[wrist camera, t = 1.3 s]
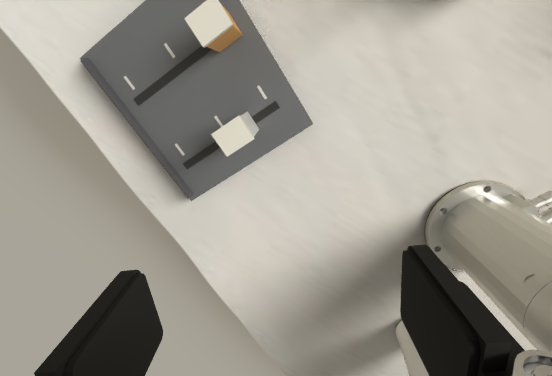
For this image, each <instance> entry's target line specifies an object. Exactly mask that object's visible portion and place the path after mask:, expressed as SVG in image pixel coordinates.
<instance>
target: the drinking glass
mask: <svg viewBox="0 0 552 376" xmlns="http://www.w3.org/2000/svg"><path fill="white" fill-rule="evenodd" d="M396 337H397V339H398V342H399V344H400V347H401V350H402V353H403V356H404V360H405V363H406V366H407V370H408V373H409V376H429V374H428V372H427V370H426V368H425V366H424V364H423V362H422V360H421V358H420V356H419V354H418V352H417V350H416V348H415V346H414V344H413V342H412V340H411V338H410V336H409V334H408V332H407V330H406V328H405V326H404V323H403V321H401V322H400V323H399V324H398V325H397V327H396Z"/></svg>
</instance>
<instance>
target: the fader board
mask: <svg viewBox="0 0 552 376" xmlns="http://www.w3.org/2000/svg"><path fill="white" fill-rule="evenodd" d="M205 1H206V0H146V1H145V2H143V3H142V4H141V5H140V6H139V7H138V8H137V9H135V10H134V11H133V12H132V13H131V14H130V15H129V16H127V17H126V18H125V19H124V20H123V21H122V22H121V23H119V24H118V25H117V26H116V27H115V28H114V29H113V30H111V31H110V32H109V33H108V34H107V35H106V36H105V37H103V38H102V39H101V40H100V41H99V42H98V43H97V44H95V45H94V46H93V47H92V48H91V49H90V50H89V51H87V52H86V53H85V54H84V55H83V56H82V57H81V58H80V59H81V62H82V64H83V65H84V66H85V68H86V69H87V70H88V71H89V73H90V74H91V75H92V76H93V78H94V79H95V80H96V82H97V83H98V84H99V85H100V87H101V88H102V89H103V90H104V92H105V93H106V94H107V96H108V97H109V98H110V99H111V101H112V102H113V103H114V104H115V106H116V107H117V108H118V110H119V111H120V112H121V113H122V115H123V116H124V117H125V118H126V120H127V121H128V122H129V124H130V125H131V126H132V127H133V129H134V130H135V131H136V133H137V134H138V135H139V136H140V138H141V139H142V140H143V141H144V143H145V144H146V145H147V147H148V148H149V149H150V150H151V152H152V153H153V154H154V155H155V157H156V158H157V159H158V161H159V162H160V163H161V164H162V166H163V167H164V168H165V169H166V171H167V172H168V173H169V175H170V176H171V177H172V178H173V180H174V181H175V182H176V183H177V185H178V186H179V187H180V189H181V190H182V191H183V192H184V194H185V195H186V196H187V197H188V198H190V200H191V201H192V200H194V199H195V198H197V197H198V196H200V195H202V194H203V193H205V192H206V191H208V190H209V189H211V188H213V187H214V186H216V185H217V184H219V183H220V182H222V181H224V180H225V179H227V178H228V177H230V176H232V175H233V174H235V173H236V172H238V171H239V170H241V169H243V168H244V167H246V166H247V165H249V164H251V163H252V162H254V161H255V160H257V159H258V158H260V157H262V156H263V155H265V154H266V153H268V152H270V151H271V150H273V149H274V148H276V147H277V146H279V145H281V144H282V143H284V142H285V141H287V140H288V139H290V138H292V137H293V136H295V135H296V134H298V133H300V132H301V131H303V130H304V129H306V128H307V127H309V126H311V125H312V124H313V123H312V121H311V119H310V117H309V116H308V114H307V112H306V111H305V109H304V107H303V106H302V104H301V102H300V101H299V99H298V97H297V96H296V94H295V92H294V91H293V89H292V87H291V86H290V84H289V82H288V81H287V79H286V77H285V76H284V74H283V72H282V71H281V69H280V67H279V66H278V64H277V62H276V61H275V59H274V57H273V56H272V54H271V52H270V51H269V49H268V47H267V46H266V44H265V42H264V41H263V39H262V37H261V35H260V34H259V32H258V30H257V29H256V27H255V25H254V24H253V22H252V20H251V19H250V17H249V15H248V14H247V12H246V10H245V9H244V7H243V5H242V4H241V2H240V0H219V2H220V3H221V4H222V6H223V7H224V8H225V9H226V10H227V11H228V12H229V13H230V15H231V17H232V18H233V20H234V22H235V23H236V25H237V26H238V28H239V30H240V31H241V33H242V36H241V37H240V38H238V39H237V40H236V41H235V42H233V43H232V44H231V45H229V46H228V47H227V48H225V49H224V50H223V51H221V52H218V51H215V50H213V49H211V48H208V47H205V48H204V47H203V46H202V45H201V43H200V42H199V40H198V39H197V37H196V36H195V34H194V33H193V31H192V30H191V28H190V27H189V25H188V24H187V22H186V21H185V19H184V18H185V17H187V16H188V15H189V14H190V13H192V12H193V11H194V10H195V9H196V8H198V7H199V6H200V5H201V4H203V3H204V2H205ZM247 111H248V113H249V114H250V116H251V117H252V119H253V120H254V122H255V123H256V125H257V126H258V128H259V131H258V132H257V133H256V135H255V136H254V140H252V141H251V142H249V143H247V144H246V145H244V146H243V147H241V148H240V149H238V150H237V151H235V152H234V153H232V154H231V155H229V156H228V157H227V156H226V155H225V153H224V152H223V151H222V149H221V148H220V146H219V145H218V144H217V142H216V141H215V139H214V138H213V136H212V135H211V134H212V133H214V132H215V131H217V130H218V129H220V128H221V127H222V126H224V125H225V124H227V123H228V122H230V121H231V120H233V119H234V118H236V117H237V116H241V115H242V114H244V113H246V112H247Z"/></svg>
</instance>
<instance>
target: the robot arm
mask: <svg viewBox="0 0 552 376" xmlns="http://www.w3.org/2000/svg"><path fill="white" fill-rule="evenodd" d="M550 204H552V191H548V192H546V193H544V194H542V195H540V196H538V197H537V198H535V199H532V200H529V199H525V198H524V196H523V195H522V194H520V193H519V192H518V191H517V190H515V189H513V188H511V187H509V186H507V185H505V184H502V183H499V182H494V181H478V182H472V183H468V184H465V185H462V186H460V187H458V188H456V189H454V190H452V191H451V192H449V193H448V194H446V195H445V196H444V197H443V198H442V199H441V200H440V201H439V202H438V203H437V204H436V205H435V206H434V208H433V209H432V211H431V212H430V215H429V217H428V219H427V223H426V227H425V237H426V242H427V245H415V246H409V247H408V249H407V250H406V251H403V255H402V281H401V308H400V312H401V318H402V321H403V323H404V326H405V328H406V330H407V332H408V334H409V336H410V338H411V340H412V342H413V344H414V346H415V348H416V350H417V352H418V354H419V356H420V358H421V360H422V362H423V364H424V366H425V368H426V370H427V372H428V374H429V376H552V207H551V208H549V209H548V210H546V211H544V212H542V213H538V212H539V209H540V208H542V207H545V206H548V205H550ZM444 264H445V265H446V266H449V267H451V268H454V269H458V270H463V271H465V272H466V273H467V274H468V275H469V276H470V277H471V278H472V280H473V281H474V282H475V283H476V284H477V285H478V286H479V287H480V288H481V289H482V290H483V292H484V293H485V294H486V295H487V296H488V297H489V298H490V299H491V300H492V301H493V302H494V304H495V305H496V306H497V307H498V308H499V309H500V310H501V311H502V312H503V313H504V314H505V316H506V317H507V318H508V319H509V320H510V321H511V322H512V323H513V324H514V325H515V326H516V328H517V329H518V330H519V331H520V332H521V333H522V334H523V335H524V336H525V337H526V338H527V340H528V341H529V342H530V343H531V344H532V345H533V346H534V347H535V348H536V349H537V350H527V351H525V350H524V349H523V348H522V347H521V346H520V345H519V344H518V342H517V341H516V340H515V339H514V338H513V337H512V336H511V335H510V333H509V332H508V331H507V330H506V329H505V328H504V327H503V326H502V324H501V323H500V322H499V321H498V320H497V319H496V318H495V317H494V315H493V314H492V313H491V312H490V311H489V310H488V309H487V308H486V306H485V305H484V304H483V303H482V302H481V301H480V300H479V299H478V298H477V296H476V295H475V294H474V293H473V292H472V291H471V290H470V289H469V287H468V286H467V285H466V284H464V283H463V282H460V281H458V280H457V278H456V277H455V276H454V275H453V274H452V273H451V272H450V270H449V269H448V268H447V267H446V266H445V265H444ZM162 336H163V329H162V326H161V322H160V319H159V316H158V313H157V310H156V307H155V304H154V301H153V298H152V295H151V292H150V289H149V286H148V283H147V280H146V277H145V275H144V274H142V273H140V271H139V270H129V271H121V272H120V273H119V274H118V275H117V276H116V277H115V278H114V280H113V281H112V282H111V283H110V284H109V286H108V287H107V288H106V289H105V290H104V291H103V293H102V294H101V295H100V296H99V298H97V300H96V301H95V302H94V303H93V304H92V306H91V307H90V308H89V309H88V310H87V312H86V313H85V314H84V315H83V316H82V317H81V319H80V320H79V321H78V322H77V323H76V324H75V326H74V327H73V328H72V329H71V330H70V331H69V333H68V334H67V335H66V336H65V337H64V339H63V340H62V341H61V342H60V343H59V344H58V346H57V347H56V348H55V349H54V350H53V352H52V353H51V354H50V355H49V356H48V357H47V358H46V360H45V361H44V362H43V363H42V364H41V366H40V367H39V368H38V369H37V370H36V371H35V373H34V374H35V376H145V374H146V372H147V370H148V367H149V366H150V363H151V361H152V359H153V357H154V355H155V352H156V350H157V348H158V346H159V344H160V342H161V340H162Z"/></svg>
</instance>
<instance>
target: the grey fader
mask: <svg viewBox="0 0 552 376" xmlns="http://www.w3.org/2000/svg"><path fill="white" fill-rule="evenodd" d="M258 131H259V128H258V126H257V125H256V123H255V122H254V120H253V119H252V117H251V116H250V114H249V113H248V111H247V112H246V113H244V114H242V115H241V116H237V117H236V118H234V119H233V120H231V121H230V122H228V123H227V124H225V125H224V126H222V127H221V128H220V129H218V130H217V131H215V132H214V133H212V134H211V135H212V136H213V138H214V139H215V141H216V142H217V144H218V145H219V146H220V148H221V149H222V151H223V152H224V153H225V155H226V156H227V157H228V156H229V155H231V154H232V153H234V152H235V151H237V150H238V149H240V148H241V147H243V146H244V145H246V144H247V143H249V142H251V141H252V140H254V136H255V135H256V133H257V132H258Z"/></svg>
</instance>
